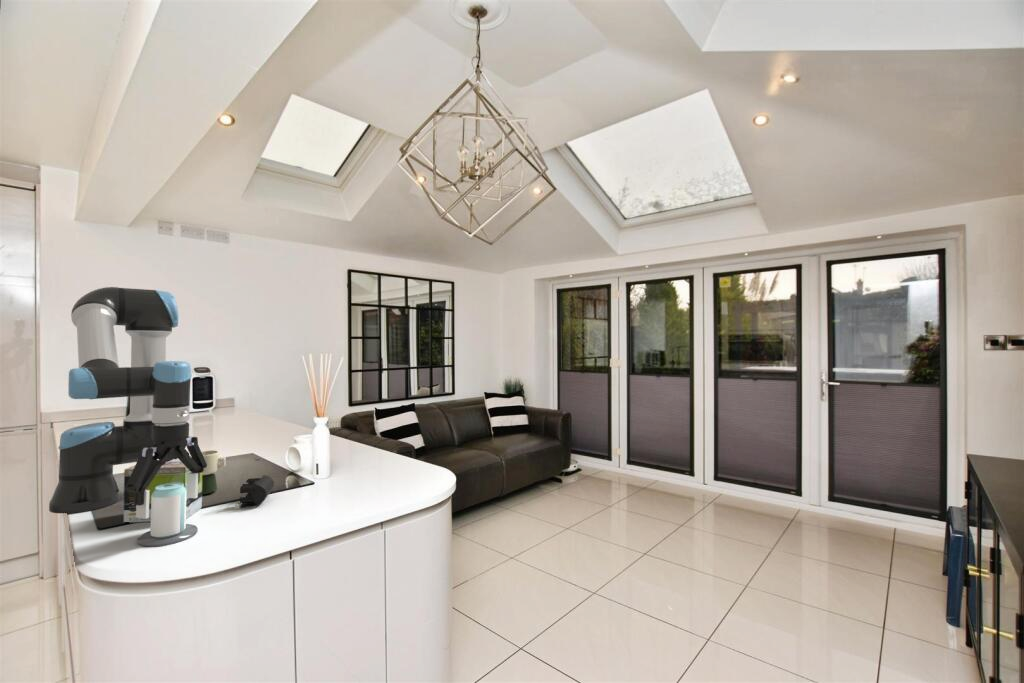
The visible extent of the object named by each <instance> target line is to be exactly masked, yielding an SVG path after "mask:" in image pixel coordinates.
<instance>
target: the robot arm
mask: <svg viewBox="0 0 1024 683" xmlns="http://www.w3.org/2000/svg"><path fill="white" fill-rule="evenodd" d="M70 313H71V318H70V319H71V322H72V324H73V326H75V327H76V335H77V336H76V338H77V355H78V356H77V357H78V359H77V360H78V367H77V368H72V369H70V370H69V371H68V383H67V384H68V389H67V390H68V397H69V398H70V399H73V400H98V399H113V398H115V399H116V398H127V397H128V398H130V399H129V414H128V415H126V417H125V418H123V422H122V423H123V424H122V425H118V426H116V425H115V423H114V421H113V422H112V421H102V422H101V421H100V422H94V423H87V424H83V425H78V426H74V427H71V428H68V429H65V430H64V431H63V432H62V433H61V434H60V437H59V438H60V439H59V446H58V450H59V460H58V462H59V464H58V482H57V485H56V487H55V489H54V492H53V494H52V497H51V499H50V501H49V503H48V506H49V507H48V510H49V512H50V513H53V514H75V513H82V512H88V511H94V510H97V509H102V508H104V507H108V506H111V505H114V504H115V503H117V502H119V501H120V500H121V498H120V497H121V491H120V489H119V487H118V486H119V485H118V484H117V481H116V479H115V477H114V476H115V475H114V466H117V465H118V466H119V465H125V464H133V463H135V467H134V469H133V472H132V474H131V476H130V478H129V480H128V483H127V485H126V487H125V490H126V491H134V504H135V505H136V518H144V519H146V518H149V492H150V490H146V489H147V487H148V486H149V484H150V483H151V481H152V480H153V478H154V477H155V475H156V474H157V472H158V471H159V469H160V468H161V466H162V465H164V464H165V463H166V462H168V461H171V460H174V459H179V460H180V461H181V462H182V463H183V464H184V465H185V466H186V467H187V468H188V469H189V470H190V471H191V473H190V472H189V473H187V494H186V498H198V484H199V482H200V480H199V479H200V473H202V472H203V471H204V468H206V467H207V463H206V461H205V459H204V457H203V455H202V452H201V451H202V450H201V449H200V445H199V439H198V437H197V436H190V423H189V420H190V409H191V408H190V407H191V406H190V405H191V404H190V399H191V398H190V397H191V396H190V395H191V378H192V373H191V363H189V362H188V361H182V360H180V361H179V360H177V361H175V360H169V361H166V357H167V356H166V354H167V353H166V352H167V351H166V350H167V345H166V344H167V337H168V336H170V335H171V334H172V333H173V328H176V327H178V326H179V310H178V305H177V301H176V298H175V296H174V295H173V293H171V292H169V291H163V290H157V289H143V288H126V287H118V286H108V287H101V288H100V287H99V288H97V289H94V290H91V291H89V292H88V293H86V294H84V295H83V296H81V297H80V298H79V299H77V301H76V302H75V304H74V305H73V306H72V309H71V312H70ZM115 326H122V327H125V329H124V330H125V331H124V332H125V333H126V334H127V335H129V336H130V338H131V342H130V343H131V347H130V367H129V366H128V367H127V366H124V367H123V366H122V367H120V366H119V357H118V351H117V344H116V336H115V335H116V334H115V330H114V329H115V328H114V327H115ZM186 448H187V449H186ZM141 485H142V486H141Z"/></svg>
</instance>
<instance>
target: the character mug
mask: <svg viewBox="0 0 1024 683" xmlns="http://www.w3.org/2000/svg"><path fill="white" fill-rule="evenodd" d="M201 452H202V455H203V457H204V459H205V461H206V463H207V467H206V468H204V471H203V472H202V495H206V494H207V495H208V494H211V493H213V492H215V491H217V489H218V488H217V486H218V485H217V477H216V474H215V473H217V472H218V471H219V469H221V468H222V469H223V468H225V467H226V460H227V459H226V457H225V456H223V457H222V456H221V457H220V451H219V450H215V449H214V450H212V449H208V450H201ZM220 461H222V463H221V464H220Z"/></svg>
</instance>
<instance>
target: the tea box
mask: <svg viewBox="0 0 1024 683" xmlns="http://www.w3.org/2000/svg"><path fill="white" fill-rule="evenodd" d="M135 465H136V464H135ZM135 465H133V466H129V467H127V468H125V469H124V472H123V478H124V479H123V523H124V522H129V523H144V522H145V523H146V522H151V495H152V493H153V492H154V491H155V487H157V486H159V485H162V484H167V483H183V484H184V485H183V486H184V487H185V488H186V490H187V473H189V472H190V473H191V471H190V470H189V469H188V468H187V467H186V466H185V465H184V464H183V463H182V462H181V461H180V460H179V459H173V460H171V461H168V462H166V463H165V464H164V465H162V466H161V468H160V469H159V471H158V472H157V474H156V475H155V477H154V478H153V480H152V481H151V483H150V484H149V486H148V487H147V489H146V490H150V492H149V518H146V519H144V518H136V505H135V504H134V491H126V490H125V487H126V485H127V483H128V480H129V478H130V476H131V474H132V472H133V469H134V467H135ZM199 480H200V482H199V484H198V498H186V519H188V518H189V517H191V516H192V515H194V514H195V513H197V512H198V511H199V510H201V509H202V504H203V494H202V473H200V479H199ZM141 486H142V485H141Z"/></svg>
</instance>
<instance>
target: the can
mask: <svg viewBox="0 0 1024 683" xmlns="http://www.w3.org/2000/svg"><path fill="white" fill-rule="evenodd" d="M183 485H184V484H183V483H167V484H162V485H159V486H157V487H155V491H154V492H153V493H152V495H151V521H150V530H149V531H150V535H151V536H153V537H155V538H168V537H172V536H175V535H178V534H180V533H181V532H182V531H183V530H185V528H186V524H187V518H186V494H187V490H186V488H185V487H184V486H183Z"/></svg>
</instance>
